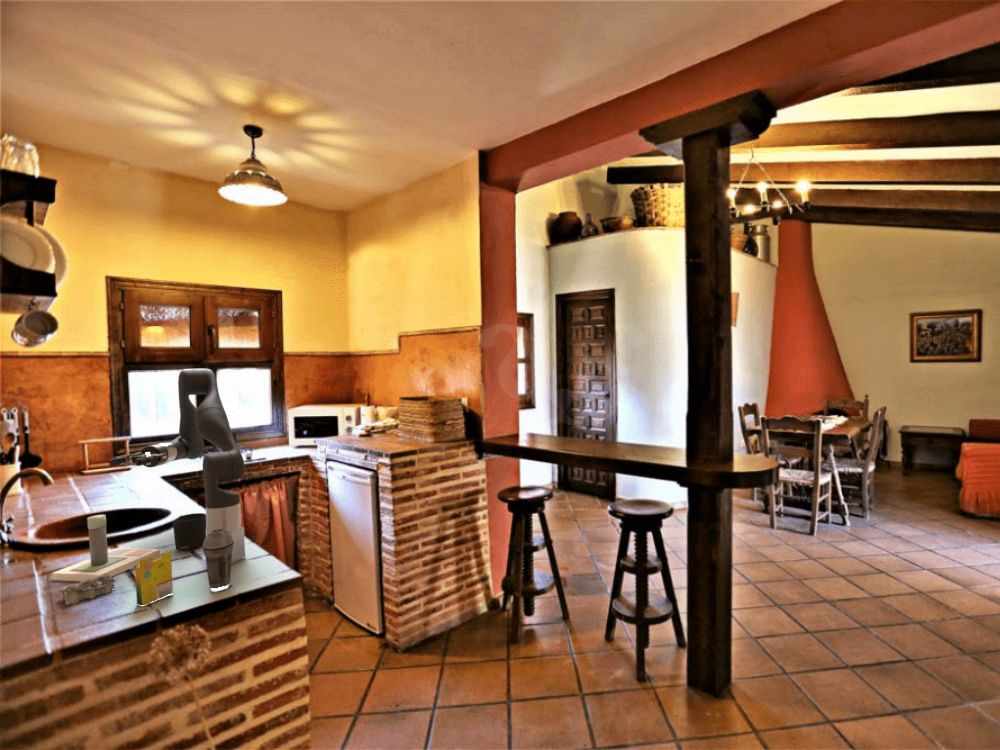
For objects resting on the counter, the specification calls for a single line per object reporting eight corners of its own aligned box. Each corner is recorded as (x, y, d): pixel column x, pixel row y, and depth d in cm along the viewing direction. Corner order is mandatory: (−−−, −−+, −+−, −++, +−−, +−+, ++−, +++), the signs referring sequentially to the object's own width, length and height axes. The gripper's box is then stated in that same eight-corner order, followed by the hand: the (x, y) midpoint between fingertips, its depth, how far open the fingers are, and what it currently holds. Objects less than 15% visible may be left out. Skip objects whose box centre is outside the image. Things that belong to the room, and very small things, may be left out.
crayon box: (168, 593, 130) (166, 549, 130) (174, 595, 129) (172, 550, 129) (135, 605, 124) (134, 558, 124) (141, 607, 122) (139, 560, 122)
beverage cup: (203, 597, 127) (200, 519, 127) (205, 586, 134) (202, 512, 133) (235, 590, 131) (232, 514, 130) (235, 580, 137) (232, 508, 137)
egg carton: (65, 607, 124) (64, 591, 124) (59, 599, 129) (58, 584, 129) (117, 592, 133) (116, 576, 133) (110, 584, 137) (109, 570, 137)
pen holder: (168, 549, 164) (167, 519, 164) (198, 540, 172) (197, 511, 172) (183, 554, 159) (181, 523, 159) (213, 544, 167) (211, 515, 167)
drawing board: (160, 555, 158) (160, 548, 158) (99, 582, 139) (99, 574, 139) (117, 553, 161) (117, 547, 161) (52, 580, 142) (51, 572, 142)
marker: (112, 560, 149) (109, 514, 148) (99, 566, 145) (95, 518, 144) (100, 560, 149) (97, 514, 149) (86, 566, 145) (83, 518, 145)
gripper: (138, 444, 174) (100, 452, 158) (178, 443, 174) (145, 450, 158) (138, 465, 174) (101, 475, 158) (179, 464, 174) (146, 474, 158)
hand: (123, 463), depth 158 cm, fingers open, 8 cm apart
